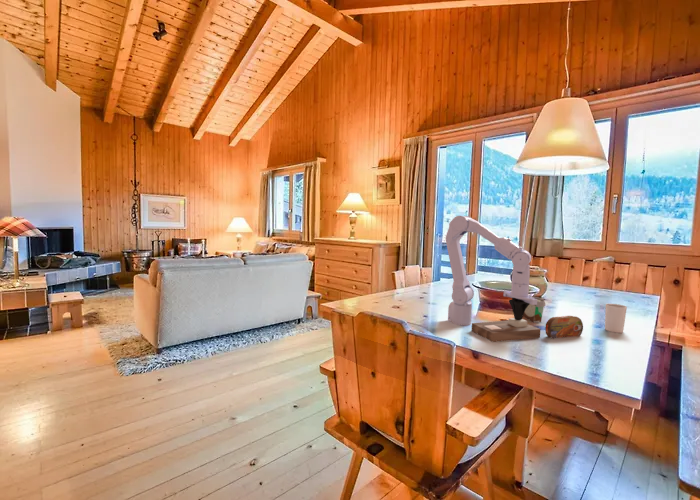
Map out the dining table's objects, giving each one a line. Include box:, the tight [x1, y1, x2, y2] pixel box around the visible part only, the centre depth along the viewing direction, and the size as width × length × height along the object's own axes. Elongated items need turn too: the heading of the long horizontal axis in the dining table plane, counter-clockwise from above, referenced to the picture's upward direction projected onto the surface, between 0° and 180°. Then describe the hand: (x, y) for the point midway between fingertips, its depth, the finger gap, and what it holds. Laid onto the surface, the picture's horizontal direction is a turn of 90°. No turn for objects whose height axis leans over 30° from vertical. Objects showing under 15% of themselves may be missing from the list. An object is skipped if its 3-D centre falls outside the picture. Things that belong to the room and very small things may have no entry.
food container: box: [522, 295, 546, 324], centre depth 147 cm, size 12×6×10 cm, turn 179°
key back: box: [508, 317, 528, 328], centre depth 129 cm, size 4×4×3 cm
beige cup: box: [604, 303, 628, 334], centre depth 137 cm, size 7×7×10 cm
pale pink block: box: [484, 325, 502, 330], centre depth 126 cm, size 4×4×3 cm
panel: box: [471, 319, 542, 343], centre depth 128 cm, size 12×20×4 cm, turn 106°
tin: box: [544, 315, 584, 340], centre depth 126 cm, size 15×3×8 cm, turn 105°
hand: (518, 319), depth 129 cm, fingers closed
